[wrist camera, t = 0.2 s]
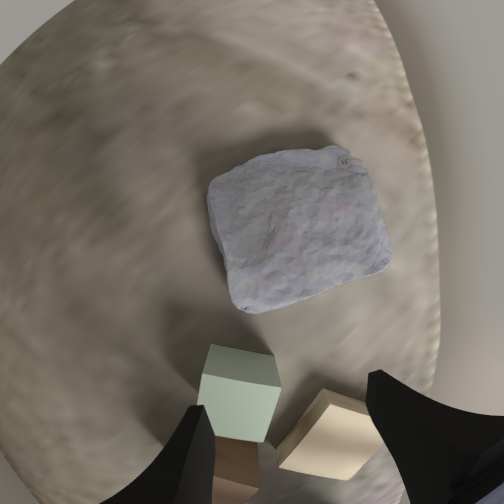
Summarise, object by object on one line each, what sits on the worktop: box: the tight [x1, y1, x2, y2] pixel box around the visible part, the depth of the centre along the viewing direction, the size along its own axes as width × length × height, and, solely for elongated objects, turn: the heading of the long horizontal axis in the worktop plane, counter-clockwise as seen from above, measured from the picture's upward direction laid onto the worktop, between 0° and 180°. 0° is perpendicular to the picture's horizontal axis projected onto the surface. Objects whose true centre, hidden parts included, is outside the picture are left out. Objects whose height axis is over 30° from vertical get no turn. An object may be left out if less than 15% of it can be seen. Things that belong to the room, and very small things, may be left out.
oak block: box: [276, 388, 384, 480], centre depth 21 cm, size 8×8×3 cm
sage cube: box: [197, 344, 282, 443], centre depth 19 cm, size 5×5×5 cm
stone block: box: [206, 145, 391, 314], centre depth 20 cm, size 12×5×10 cm
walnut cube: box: [212, 435, 260, 504], centre depth 19 cm, size 6×6×6 cm
